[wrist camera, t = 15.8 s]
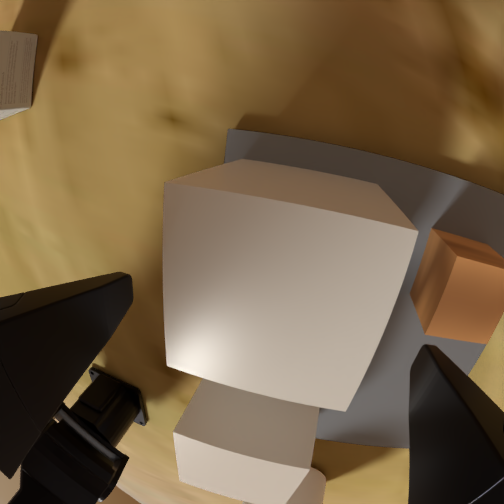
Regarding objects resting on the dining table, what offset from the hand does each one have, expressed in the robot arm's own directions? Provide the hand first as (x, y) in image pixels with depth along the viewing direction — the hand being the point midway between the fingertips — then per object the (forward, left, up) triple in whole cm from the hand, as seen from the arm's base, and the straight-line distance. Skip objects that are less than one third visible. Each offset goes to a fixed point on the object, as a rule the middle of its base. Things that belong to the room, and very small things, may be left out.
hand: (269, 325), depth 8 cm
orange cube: (0, -9, -9) cm, 12 cm away
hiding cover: (0, 0, -9) cm, 9 cm away
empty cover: (-12, 0, -9) cm, 15 cm away
